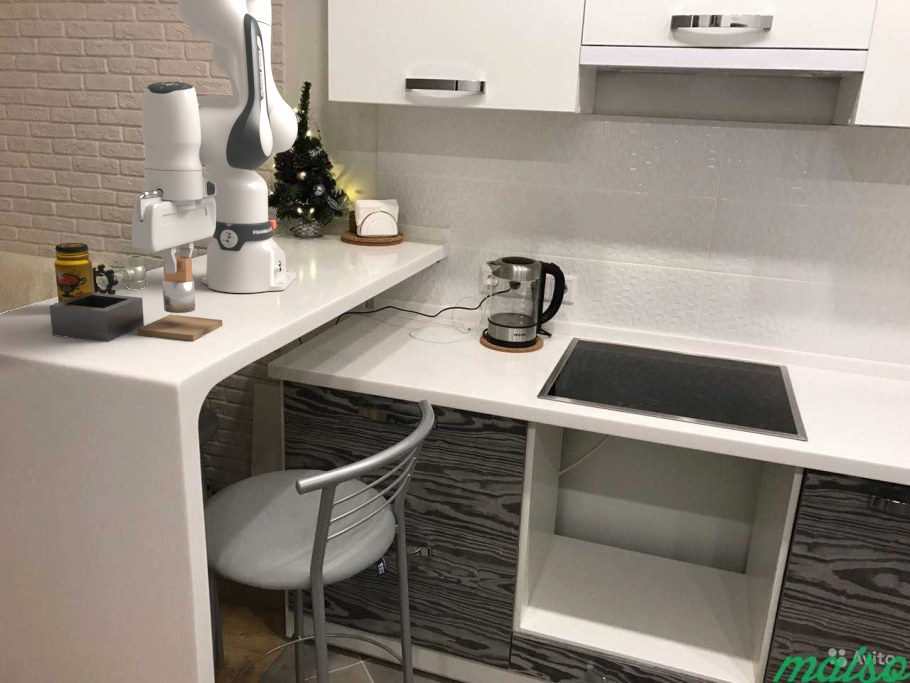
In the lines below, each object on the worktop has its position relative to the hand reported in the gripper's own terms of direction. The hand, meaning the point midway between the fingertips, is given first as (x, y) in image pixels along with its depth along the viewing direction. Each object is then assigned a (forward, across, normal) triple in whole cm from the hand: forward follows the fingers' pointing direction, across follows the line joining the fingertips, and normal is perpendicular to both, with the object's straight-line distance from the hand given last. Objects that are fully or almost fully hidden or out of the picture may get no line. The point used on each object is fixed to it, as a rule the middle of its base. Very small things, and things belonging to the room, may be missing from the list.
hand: (178, 271), depth 126 cm
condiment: (+11, +6, +24) cm, 27 cm away
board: (+10, 0, 0) cm, 10 cm away
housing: (+10, -5, +12) cm, 17 cm away
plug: (+7, 0, 0) cm, 7 cm away
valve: (+10, +21, +24) cm, 34 cm away
